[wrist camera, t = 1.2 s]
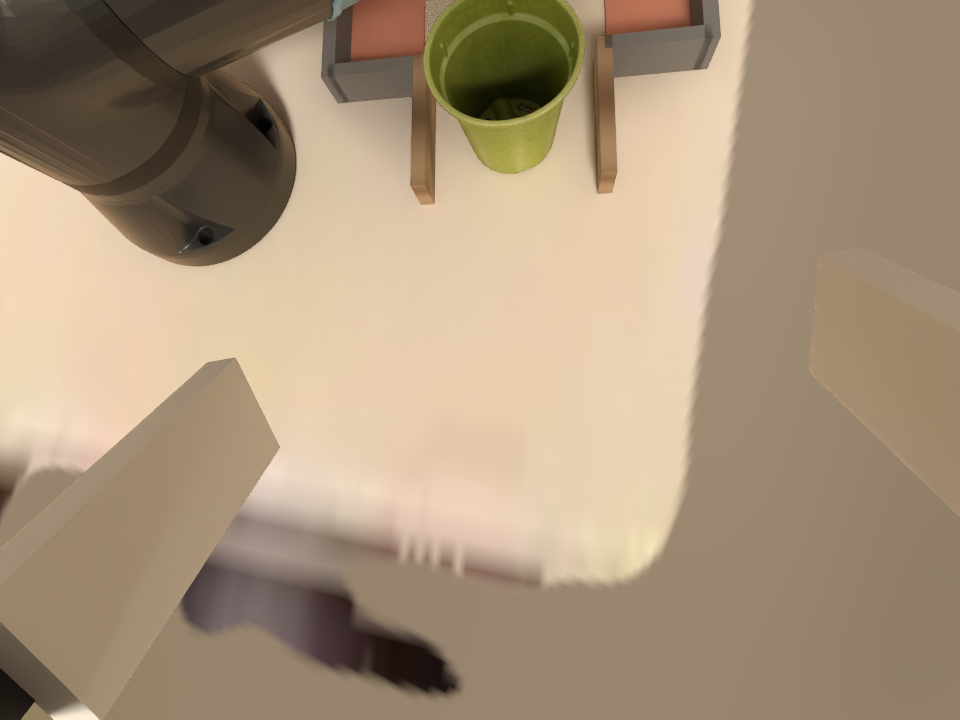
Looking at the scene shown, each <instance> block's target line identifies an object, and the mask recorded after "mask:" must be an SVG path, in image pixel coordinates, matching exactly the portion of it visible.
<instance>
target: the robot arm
mask: <svg viewBox="0 0 960 720" xmlns="http://www.w3.org/2000/svg"><path fill="white" fill-rule="evenodd" d="M359 1H361V0H0V152H1V153H3V154H5V155H7V156H9V157H11V158H13V159H15V160H17V161H19V162H21V163H23V164H25V165H27V166H29V167H31V168H33V169H35V170H38V171H40V172H42V173H44V174H46V175H48V176H50V177H52V178H54V179H56V180H58V181H60V182H62V183H64V184H66V185H68V186H70V187H72V188H74V189H76V190H78V191H80V192H81V193H82V194H83V195H84V196H85V197H86V198H87V199H88V200H89V201H90V202H91V203H92V204H93V205H94V206H95V207H96V208H97V209H98V210H99V211H100V212H101V213H102V214H103V215H104V216H105V217H106V218H107V219H108V220H109V221H110V222H111V223H112V224H113V225H114V226H115V227H116V228H117V229H118V230H119V231H120V232H121V233H122V234H123V235H124V236H125V237H126V238H127V239H128V240H130V241H131V242H132V243H134V244H135V245H137V246H138V247H140V248H141V249H143V250H145V251H147V252H149V253H151V254H153V255H156V256H158V257H160V258H162V259H165V260H167V261H170V262H173V263H176V264H180V265H186V266H207V265H213V264H217V263H221V262H224V261H227V260H230V259H232V258H234V257H236V256H238V255H240V254H242V253H244V252H245V251H247V250H248V249H250V248H251V247H253V246H254V245H255V244H256V243H258V242H259V241H260V240H261V239H262V238H263V237H264V236H265V235H266V234H267V233H268V232H269V231H270V230H271V229H272V227H273V226H274V225H275V223H276V222H277V221H278V219H279V217H280V216H281V214H282V212H283V211H284V209H285V207H286V204H287V202H288V200H289V197H290V194H291V191H292V188H293V183H294V177H295V152H294V147H293V142H292V139H291V136H290V134H289V131H288V129H287V127H286V125H285V124H284V122H283V121H282V119H281V118H280V117H279V115H278V114H277V113H276V112H275V111H274V110H273V109H272V107H271V106H270V105H269V104H268V103H267V102H266V101H265V99H264V98H263V97H262V96H261V95H260V94H259V93H257V92H256V91H255V90H254V89H252V88H251V87H250V86H248V85H247V84H245V83H244V82H242V81H240V80H238V79H236V78H234V77H233V76H231V75H229V74H227V73H225V72H223V71H222V70H220V69H218V68H220V67H222V66H225V65H227V64H229V63H231V62H233V61H236V60H238V59H240V58H242V57H244V56H247V55H249V54H251V53H253V52H255V51H258V50H260V49H262V48H264V47H266V46H269V45H271V44H273V43H275V42H277V41H280V40H282V39H284V38H286V37H288V36H291V35H293V34H295V33H297V32H299V31H302V30H304V29H306V28H308V27H310V26H312V25H315V24H317V23H319V22H321V21H323V20H328V21H332V20H335V19H336V17H337V16H340V14H341V12H342V10H344V9H346V8H347V7H349V6H351V5H353V4H355V3H357V2H359ZM809 372H810V373H811V374H812V375H813V376H814V377H815V378H816V379H817V380H818V381H819V382H820V383H821V384H822V385H823V386H824V387H825V388H826V389H827V390H828V391H829V392H830V393H831V394H833V395H834V396H835V397H836V398H837V399H838V400H839V401H840V402H841V403H842V404H843V405H844V406H845V407H846V408H847V409H848V410H849V411H850V412H851V413H852V414H853V415H854V416H855V417H856V418H858V419H859V420H860V422H862V423H863V424H864V425H865V426H866V427H867V428H868V429H869V430H870V431H871V432H872V433H873V434H874V435H875V436H876V437H877V438H878V439H879V440H880V441H881V442H882V443H883V444H884V445H885V446H886V447H887V448H888V449H889V450H891V451H892V452H893V453H894V454H895V455H896V456H897V457H898V458H899V459H900V460H901V461H902V462H903V463H904V464H905V465H906V466H907V467H908V468H909V469H910V470H911V471H912V472H913V473H914V474H915V475H916V476H917V477H919V478H920V479H921V480H922V481H923V482H924V483H925V484H926V485H927V486H928V487H929V488H930V489H931V490H932V491H933V492H934V493H935V494H936V495H937V496H938V497H939V498H940V499H941V500H942V501H943V502H944V503H945V504H947V505H948V506H949V507H950V508H951V509H952V510H953V511H954V512H955V513H956V514H957V515H958V516H959V517H960V293H958V292H956V291H954V290H951V289H949V288H947V287H945V286H943V285H941V284H939V283H936V282H934V281H932V280H930V279H928V278H926V277H923V276H921V275H919V274H917V273H915V272H913V271H910V270H908V269H906V268H904V267H902V266H899V265H898V264H895V263H893V262H891V261H889V260H887V259H885V258H882V257H880V256H878V255H876V254H874V253H872V252H869V251H867V250H865V249H863V248H857V249H851V250H845V251H839V252H833V253H828V254H822V255H820V260H819V269H818V279H817V290H816V300H815V309H814V320H813V330H812V340H811V351H810V360H809ZM279 448H280V446H279V444H278V442H277V440H276V438H275V436H274V434H273V432H272V430H271V428H270V426H269V424H268V422H267V420H266V418H265V416H264V414H263V412H262V410H261V408H260V406H259V404H258V402H257V400H256V398H255V396H254V394H253V392H252V390H251V388H250V386H249V384H248V382H247V380H246V377H245V375H244V373H243V371H242V369H241V367H240V365H239V363H238V361H237V359H236V358H230V359H225V360H219V361H213V362H208V363H206V364H205V365H204V366H203V367H202V368H201V369H200V370H198V371H197V372H196V373H195V374H194V375H193V376H192V377H191V378H190V379H188V380H187V381H186V382H185V383H184V384H183V385H182V386H181V387H180V388H178V389H177V390H176V391H175V392H174V393H173V394H172V395H171V396H170V397H168V398H167V399H166V400H165V401H164V402H163V403H162V404H161V405H159V406H158V407H157V408H156V409H155V410H154V411H153V412H152V413H151V414H149V415H148V416H147V417H146V418H145V419H144V420H143V421H142V422H141V423H139V424H138V425H137V426H136V427H135V428H134V429H133V430H132V431H130V432H129V433H128V434H127V435H126V436H125V437H124V438H123V439H122V440H120V441H119V442H118V443H117V444H116V445H115V446H114V447H113V448H112V449H110V450H109V451H108V452H107V453H106V454H105V455H104V456H103V457H102V458H100V459H99V460H98V461H97V462H96V463H95V464H94V465H93V466H91V467H90V468H89V469H88V470H87V471H86V472H85V473H84V474H83V475H81V476H80V477H79V478H78V479H77V480H76V481H75V482H74V483H73V484H71V485H70V486H69V487H68V488H67V489H66V490H65V491H64V492H63V493H61V494H60V495H59V496H58V497H57V498H56V499H55V500H54V501H52V502H51V503H50V504H49V505H48V506H47V507H46V508H45V509H44V510H43V511H41V512H40V513H39V514H38V515H37V516H36V517H35V518H34V519H33V520H31V521H30V522H29V523H28V524H27V525H26V526H25V527H23V528H22V529H21V530H20V531H19V532H18V533H17V534H16V535H15V536H13V537H12V538H11V539H10V540H9V541H8V542H7V543H6V544H5V545H4V546H2V547H1V548H0V720H21V718H22V717H23V716H24V714H25V713H26V712H27V711H28V709H29V708H30V707H31V706H32V704H33V703H34V702H35V703H36V704H37V705H38V706H40V707H41V708H42V709H43V710H44V711H45V712H46V713H47V714H48V715H49V716H50V717H51V718H53V719H54V720H103V719H104V717H105V716H106V714H107V712H108V711H109V709H110V708H111V706H112V705H113V703H114V702H115V700H116V698H117V697H118V696H119V694H120V693H121V691H122V689H123V688H124V686H125V685H126V683H127V682H128V680H129V679H130V677H131V676H132V674H133V673H134V671H135V669H136V668H137V666H138V665H139V663H140V662H141V660H142V659H143V657H144V655H145V654H146V653H147V651H148V650H149V648H150V646H151V645H152V643H153V642H154V640H155V639H156V637H157V636H158V634H159V633H160V631H161V629H162V628H163V626H164V625H165V623H166V622H167V620H168V619H169V617H170V616H171V614H172V613H173V611H174V610H175V608H176V606H177V605H178V603H179V602H180V600H181V599H182V597H183V596H184V594H185V593H186V591H187V590H188V588H189V586H190V585H191V583H192V582H193V580H194V579H195V577H196V576H197V574H198V573H199V571H200V570H201V568H202V567H203V565H204V563H205V562H206V560H207V559H208V557H209V556H210V554H211V553H212V551H213V550H214V548H215V547H216V545H217V543H218V542H219V540H220V539H221V537H222V536H223V534H224V533H225V531H226V530H227V528H228V527H229V525H230V523H231V522H232V520H233V519H234V517H235V516H236V514H237V513H238V511H239V510H240V508H241V507H242V505H243V503H244V502H245V500H246V499H247V497H248V496H249V494H250V493H251V491H252V490H253V488H254V487H255V485H256V484H257V482H258V480H259V479H260V477H261V476H262V474H263V473H264V471H265V470H266V468H267V467H268V465H269V464H270V462H271V460H272V459H273V457H274V456H275V454H276V453H277V451H278V450H279Z"/></svg>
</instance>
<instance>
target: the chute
mask: <svg viewBox="0 0 960 720" xmlns="http://www.w3.org/2000/svg"><path fill="white" fill-rule="evenodd" d="M611 36H612V35H608V36H606V35H605V37H606V38H607V37H611ZM605 37H604V35H603V36H597V41H596V49H595V58H594V96H595V126H596V157H597V187H598V193H612V191H613V187H614V183H615V178H616V174H617V152H616V126H615V101H614V75H613V49H612V48H605V43H606V42H605ZM607 40H608V39H607ZM608 41H610V40H608ZM608 41H607V42H608ZM611 41H612V40H611ZM607 46H608V45H606V47H607ZM609 47H611V45H610V46H609ZM413 57H414V58H413V59H414V60H413V66H414V67H413V93H412V137H411V182H410V186H411V187H412V189H413V191H414V193H415V194H416V196H417V198H418V200H419V201H420V203H421V205H423V204H434V195H435V130H436V99H435V97H434V96H433V94H432V92H431V90H430V88H429V86H428V83H427V80H426V77H425V72H424V64H423V58H424V54H423V55H420V56H419V55H418V56H417V57H419V58H420V59H419V58H416V55H413ZM415 60H416V61H415ZM417 60H418V61H417ZM414 61H415V62H414ZM419 61H420V62H419ZM416 62H417V63H416ZM414 64H415V65H414Z"/></svg>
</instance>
